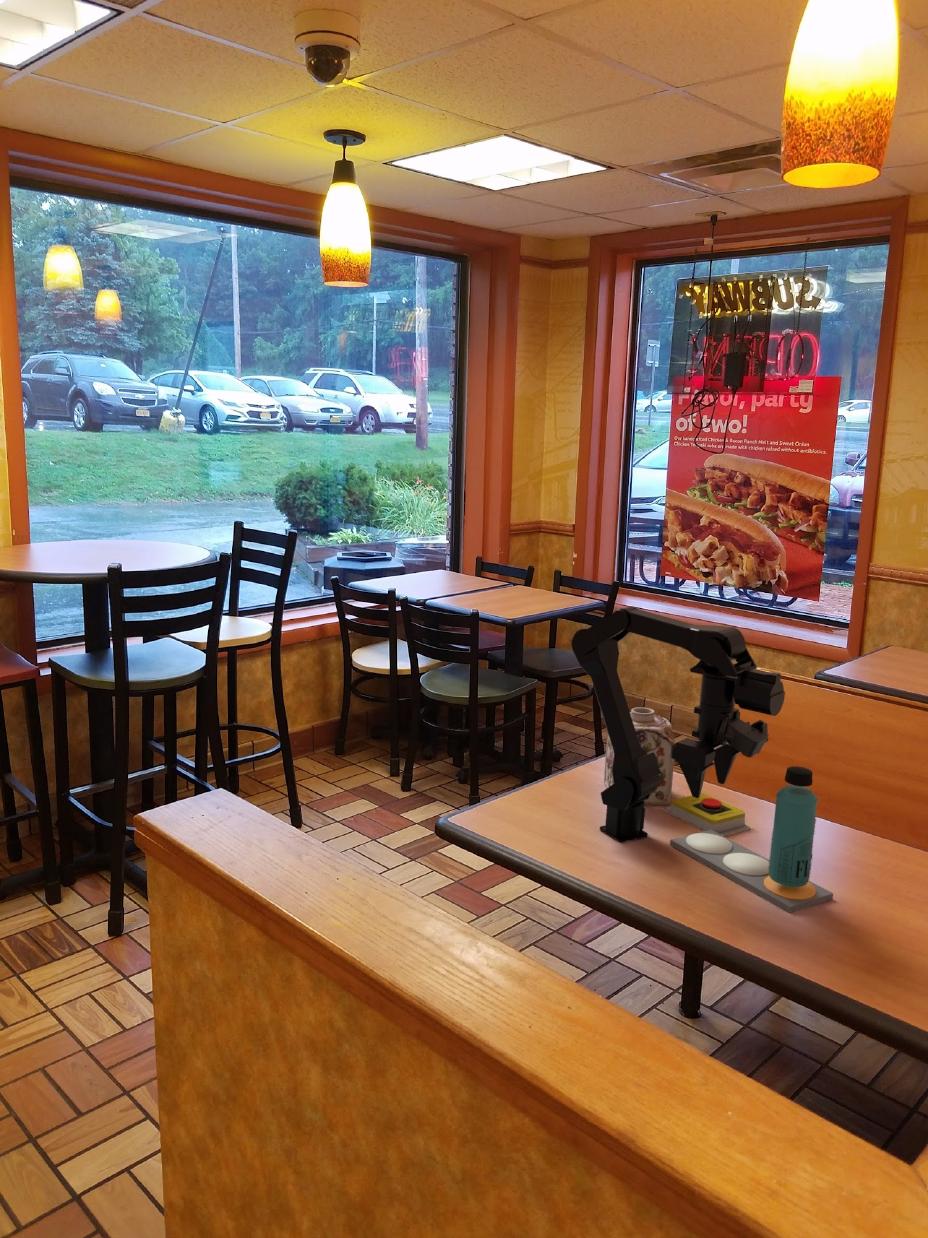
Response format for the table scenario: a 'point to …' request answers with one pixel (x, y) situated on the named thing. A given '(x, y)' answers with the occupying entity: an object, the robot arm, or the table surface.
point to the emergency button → (709, 814)
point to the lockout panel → (748, 870)
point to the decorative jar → (650, 751)
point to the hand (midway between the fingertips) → (708, 790)
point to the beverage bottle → (793, 829)
